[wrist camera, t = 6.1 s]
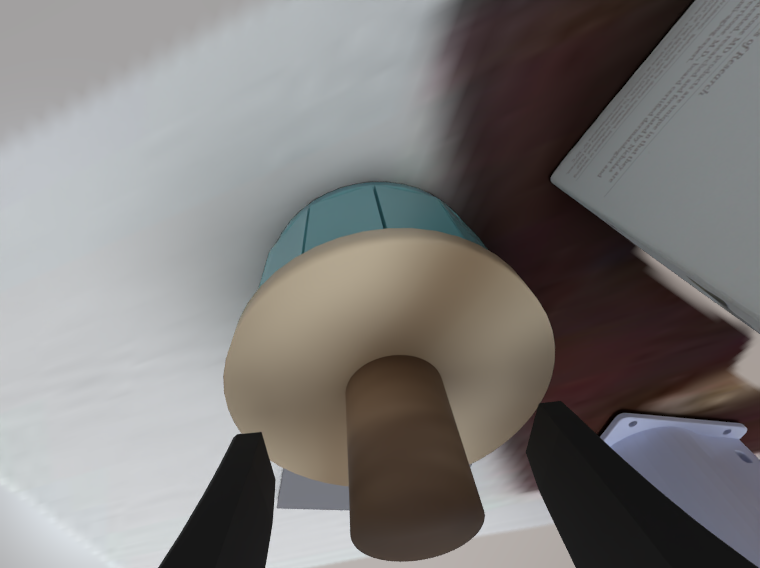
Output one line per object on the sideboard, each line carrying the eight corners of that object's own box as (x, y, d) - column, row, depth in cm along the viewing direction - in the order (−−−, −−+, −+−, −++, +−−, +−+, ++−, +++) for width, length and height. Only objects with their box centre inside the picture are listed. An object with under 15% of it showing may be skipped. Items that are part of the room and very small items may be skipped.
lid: (597, 260, 12) (748, 388, 7) (476, 469, 17) (526, 617, 12) (240, 195, 10) (166, 321, 5) (225, 455, 14) (180, 628, 10)
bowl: (510, 206, 16) (575, 267, 12) (441, 370, 20) (470, 458, 16) (280, 159, 14) (258, 212, 10) (260, 351, 18) (238, 445, 14)
